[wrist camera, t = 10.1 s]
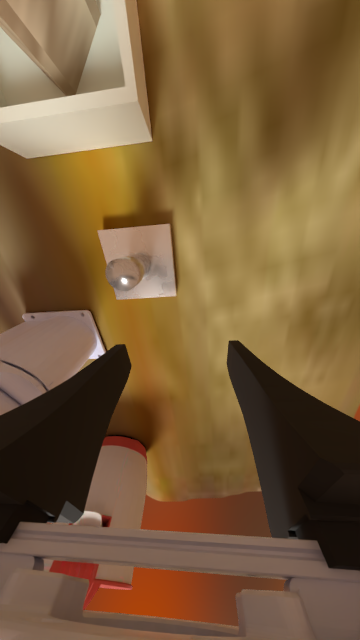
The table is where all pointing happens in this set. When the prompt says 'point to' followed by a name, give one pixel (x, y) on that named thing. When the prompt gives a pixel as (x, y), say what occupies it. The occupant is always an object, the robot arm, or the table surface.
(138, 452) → the citrus juicer
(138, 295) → the stud plate
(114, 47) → the bin
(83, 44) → the socket block
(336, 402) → the table surface
